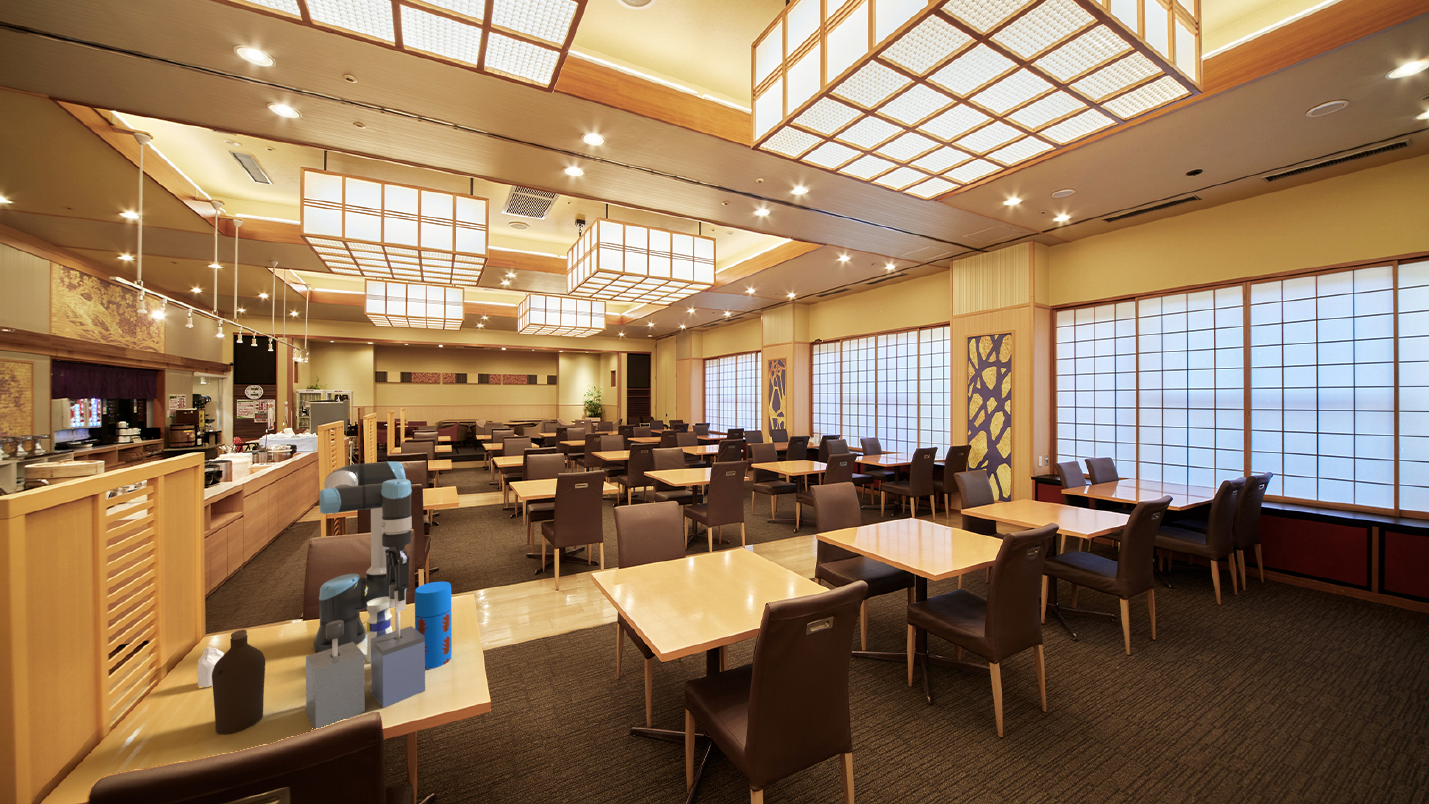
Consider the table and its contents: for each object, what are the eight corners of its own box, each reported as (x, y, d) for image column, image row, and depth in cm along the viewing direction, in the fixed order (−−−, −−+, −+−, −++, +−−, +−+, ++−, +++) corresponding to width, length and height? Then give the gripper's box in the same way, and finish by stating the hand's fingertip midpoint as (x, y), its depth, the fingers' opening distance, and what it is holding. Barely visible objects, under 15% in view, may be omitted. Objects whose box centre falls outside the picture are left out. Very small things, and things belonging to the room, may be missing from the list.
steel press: (303, 709, 142) (302, 651, 142) (349, 691, 150) (349, 637, 150) (315, 731, 132) (315, 670, 132) (364, 711, 141) (364, 654, 141)
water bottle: (367, 666, 165) (366, 591, 165) (363, 656, 171) (363, 584, 171) (396, 657, 170) (395, 585, 170) (391, 648, 177) (391, 578, 176)
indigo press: (367, 688, 152) (366, 634, 152) (407, 673, 161) (406, 622, 160) (383, 708, 142) (382, 650, 142) (425, 690, 151) (424, 636, 151)
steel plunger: (313, 695, 140) (312, 624, 139) (349, 682, 146) (348, 614, 146) (320, 707, 134) (319, 633, 134) (357, 693, 141) (356, 622, 140)
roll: (227, 639, 159) (219, 647, 154) (227, 677, 159) (219, 686, 154) (202, 643, 156) (193, 652, 151) (202, 681, 156) (193, 691, 151)
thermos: (435, 671, 162) (434, 594, 161) (407, 667, 164) (406, 592, 164) (459, 654, 172) (458, 582, 172) (432, 651, 174) (431, 580, 174)
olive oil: (258, 728, 134) (257, 636, 134) (205, 741, 129) (204, 645, 129) (271, 706, 143) (270, 620, 143) (221, 718, 138) (220, 628, 138)
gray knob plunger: (377, 651, 150) (376, 585, 149) (408, 641, 156) (407, 577, 156) (386, 661, 144) (386, 592, 144) (418, 650, 151) (417, 583, 150)
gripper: (373, 529, 153) (374, 605, 153) (392, 539, 141) (393, 621, 142) (401, 524, 158) (401, 597, 158) (421, 533, 147) (421, 612, 147)
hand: (397, 608), depth 150 cm, fingers closed on gray knob plunger, 4 cm apart
